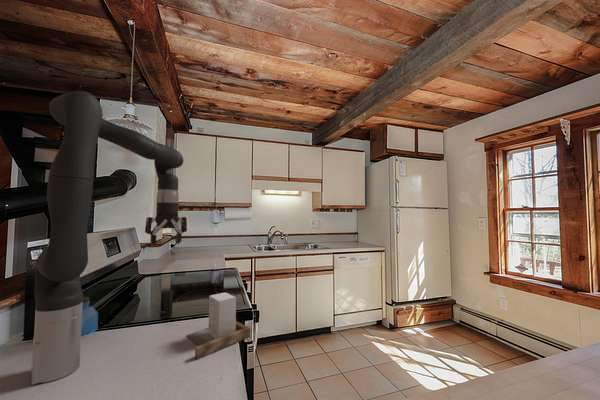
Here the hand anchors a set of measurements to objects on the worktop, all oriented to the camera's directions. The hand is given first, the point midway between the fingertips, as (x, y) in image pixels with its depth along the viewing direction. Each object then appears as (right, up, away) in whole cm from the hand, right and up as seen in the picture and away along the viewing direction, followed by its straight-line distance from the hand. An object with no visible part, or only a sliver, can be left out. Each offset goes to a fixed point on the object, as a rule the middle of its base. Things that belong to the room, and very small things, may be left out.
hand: (166, 244), depth 98 cm
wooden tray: (+22, -30, -12) cm, 39 cm away
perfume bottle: (-25, -30, -8) cm, 40 cm away
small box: (+24, -29, -10) cm, 40 cm away
